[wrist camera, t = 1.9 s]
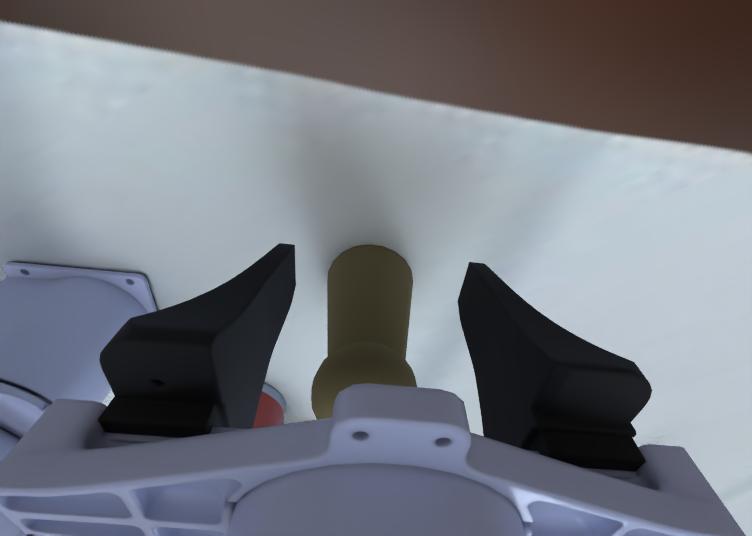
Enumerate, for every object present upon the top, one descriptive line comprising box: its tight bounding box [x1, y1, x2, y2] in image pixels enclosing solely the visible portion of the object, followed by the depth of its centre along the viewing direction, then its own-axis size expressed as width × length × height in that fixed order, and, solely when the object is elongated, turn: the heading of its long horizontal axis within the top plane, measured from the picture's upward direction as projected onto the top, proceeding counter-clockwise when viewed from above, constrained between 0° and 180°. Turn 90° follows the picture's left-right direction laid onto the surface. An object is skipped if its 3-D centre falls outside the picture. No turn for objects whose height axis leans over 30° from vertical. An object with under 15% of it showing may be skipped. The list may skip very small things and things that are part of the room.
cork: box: [311, 245, 417, 420], centre depth 21 cm, size 6×6×11 cm
